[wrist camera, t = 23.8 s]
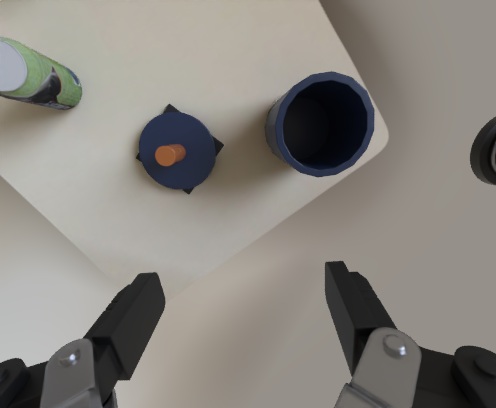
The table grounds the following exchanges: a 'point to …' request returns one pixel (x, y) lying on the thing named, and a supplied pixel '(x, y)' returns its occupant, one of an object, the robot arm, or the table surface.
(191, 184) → the tin lid
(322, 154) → the tin
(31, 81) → the beverage can
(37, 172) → the table surface
